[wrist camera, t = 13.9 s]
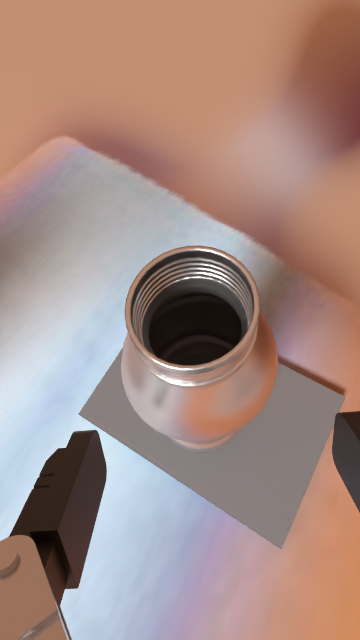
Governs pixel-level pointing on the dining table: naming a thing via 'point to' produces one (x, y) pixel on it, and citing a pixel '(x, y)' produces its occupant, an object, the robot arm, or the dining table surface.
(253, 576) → the dining table surface
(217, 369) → the plastic bottle
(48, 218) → the dining table surface
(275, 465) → the grey rubber mat
